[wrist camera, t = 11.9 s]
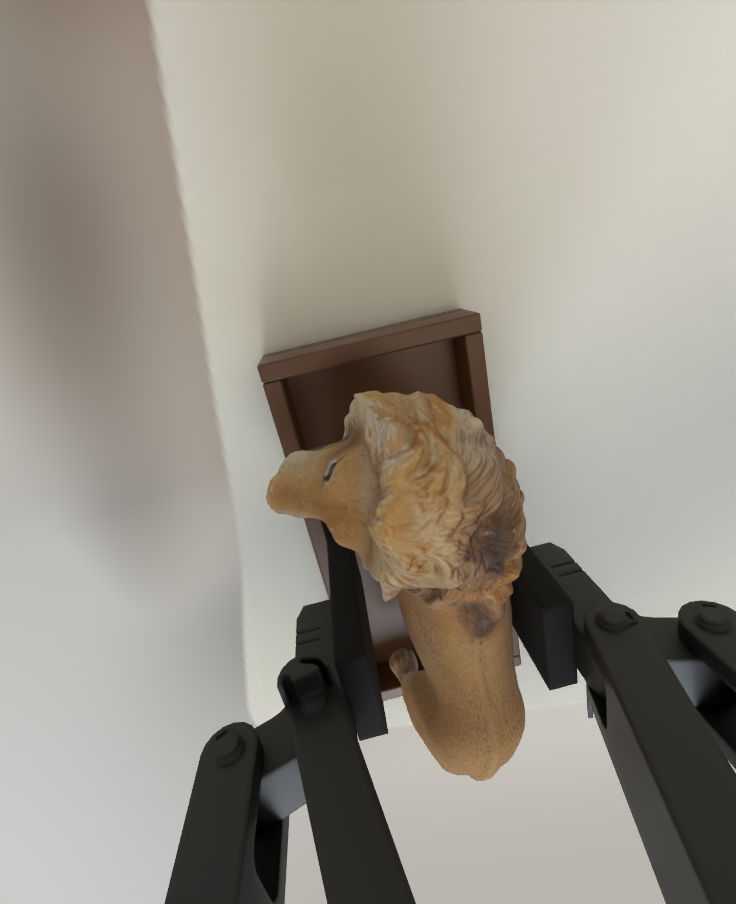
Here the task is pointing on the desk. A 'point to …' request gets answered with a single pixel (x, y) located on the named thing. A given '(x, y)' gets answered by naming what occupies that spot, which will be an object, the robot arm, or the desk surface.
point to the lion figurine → (430, 559)
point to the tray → (385, 370)
